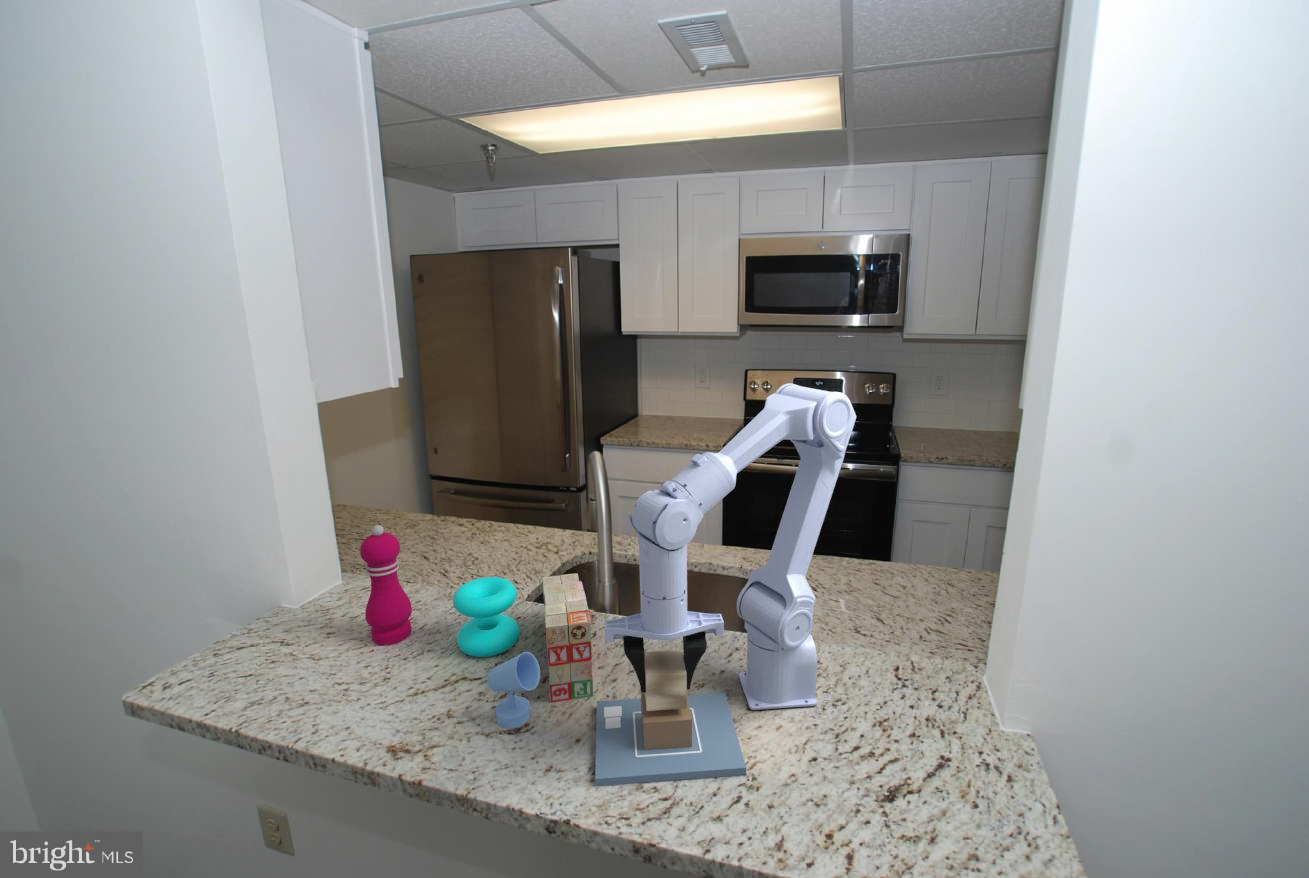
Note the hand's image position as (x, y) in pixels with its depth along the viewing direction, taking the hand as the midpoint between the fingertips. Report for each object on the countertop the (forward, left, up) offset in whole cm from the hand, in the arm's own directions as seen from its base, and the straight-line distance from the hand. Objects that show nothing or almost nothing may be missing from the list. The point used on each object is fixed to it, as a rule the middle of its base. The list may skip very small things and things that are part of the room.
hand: (665, 686), depth 79 cm
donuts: (+27, -25, -8) cm, 38 cm away
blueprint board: (0, 0, -8) cm, 8 cm away
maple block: (0, 0, -2) cm, 2 cm away
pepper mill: (+44, -29, -8) cm, 53 cm away
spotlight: (+20, -6, -8) cm, 22 cm away
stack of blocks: (+14, -20, -8) cm, 25 cm away
